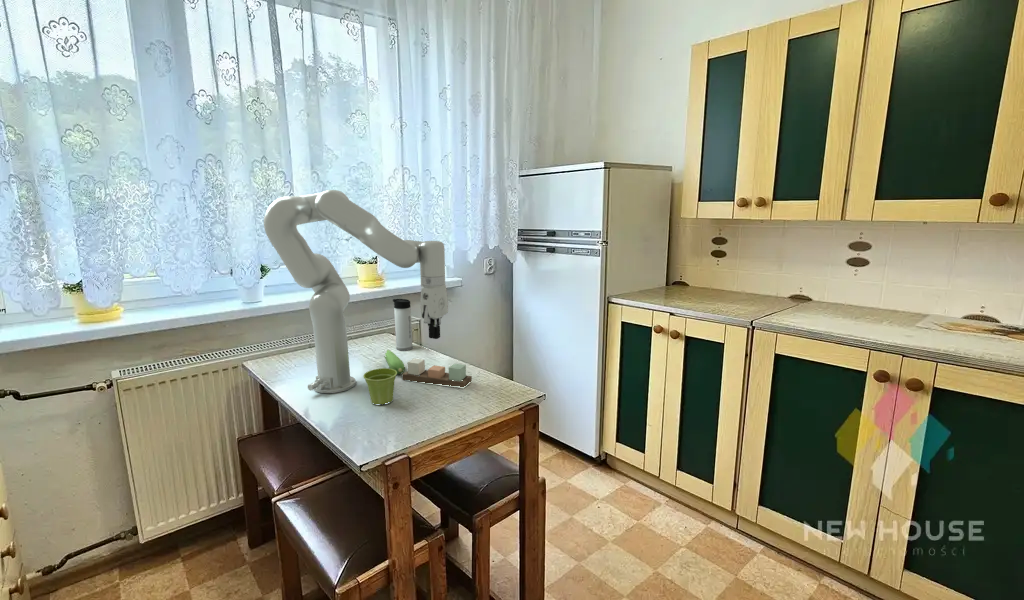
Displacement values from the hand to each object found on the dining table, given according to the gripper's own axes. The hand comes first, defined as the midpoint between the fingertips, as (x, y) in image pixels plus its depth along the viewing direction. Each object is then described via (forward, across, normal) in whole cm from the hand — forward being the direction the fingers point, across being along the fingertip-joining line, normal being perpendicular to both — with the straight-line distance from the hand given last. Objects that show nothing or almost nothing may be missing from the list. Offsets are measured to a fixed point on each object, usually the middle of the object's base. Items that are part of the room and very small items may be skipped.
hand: (434, 337), depth 156 cm
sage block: (+13, 0, -8) cm, 15 cm away
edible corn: (+15, +7, +20) cm, 26 cm away
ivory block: (+13, 0, +7) cm, 15 cm away
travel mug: (+15, +26, +28) cm, 41 cm away
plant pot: (+15, -19, +7) cm, 26 cm away
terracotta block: (+14, 0, 0) cm, 14 cm away
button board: (+15, 0, 0) cm, 15 cm away
